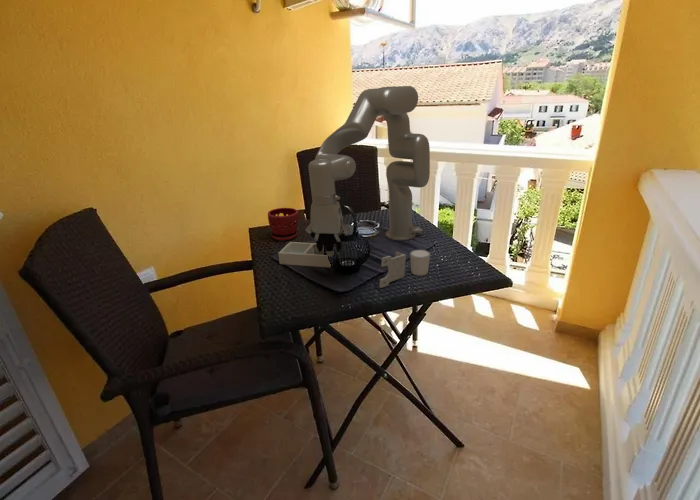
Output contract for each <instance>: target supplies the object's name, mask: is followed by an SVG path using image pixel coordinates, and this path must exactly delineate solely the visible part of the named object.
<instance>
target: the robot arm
mask: <svg viewBox="0 0 700 500" xmlns="http://www.w3.org/2000/svg"><path fill="white" fill-rule="evenodd" d="M418 102H419V94H418V91H417V89H416V88H415V87H414V86H411V85H401V86H400V85H399V86H397V85H396V86H382V87H381V86H380V87H379V88H368V89H367V88H366V89H364V90H363V91H362V92H361V93H360V94H359V95H358V97H357V99H356V102H355V103H354V105H353V107H352V110H351V111H350V113H349V115H348V117H347V119H346V121H345V122H344V123H343V124H342V125H341V126H340V127H338V128H337V129H336V130H335V131H333V132H332V133H331V134H330V135H328V137H326V139H325V140H324V141H323V142H322V144H321V145H320V147H319V149H318V151H317V153H316V155H315V158H314V159H313V160H311V161H309V163H308V174H309V183H310V185H309V186H310V190H311V199H312V200H311V201H312V203H311V204H310V223H309V225H308V226H307V227H306V228H305V232H306V233H307V234H309V236H310V237H312V239H314V241H315V242H316V245H317V248H318V252H321V250H322V249H323V245H322V243H321V242H320V234H334V236H335V238H336V242H335V244H336V252H337V253H340V251H341V250H342V248H343V245H342V244H343V243H342V242H343V241H342V240H343V239H344V238H345V236H347V235H348V234H349V233H350V232H351V229H350V228H349V227H348V226H347V225H346V224H345V223H344V217H343V213H342V209H341V205H340V202H339V201H340V200H341V196H340V195H337V193H336V184H335V182H336V181H341V180H347V179H350V178H351V177H352V176H353V175H354V174H355V172H356V169H357V167H356V166H357V164H356V161H355V160H354V158H353V157H351V156H349V155H345V154H339V153H340V152H341V151H342V150H343V149H345V148H347V147H349V146H352V145H354V144H357V143H359V142H361V141H363V140H365V139H367V137H368V136H369V133H370V132H371V130H372V128H373V125H374V124H375V122H376V120H377V118H378V117H380V116H383V117H384V118H385V121H386V126H387V142H388V143H387V145H388V153H389V155H390V156H391V157H393V158H395V159H404V160H405V161H404V160H395V161H392V162H390V163H389V164H388V165H387V167H386V171H385V172H386V173H385V174H386V175H385V176H386V181H387V186H388V187H387V188H388V210H389V211H388V213H389V215H388V216H389V217H388V219H389V221H388V223H389V225H388V230H387V231H386V232H385V237H386V238H387V239H390V240H393V241H408V240H411V239H413V238H415V237H416V234H423V228H421V227H420V226H414V223H413V220H412V219H413V193H412V190H411V188H417V189H418V188H419V189H420V188H423V187H426V186H427V185H428V183H429V180H430V170H431V163H430V160H431V157H430V155H431V152H430V151H431V149H430V143H429V138H428V137H426V135H424V134H423V133H413V132H412V133H411V125H410V123H411V122H410V118H409V114H408V113H411V112H412V111H414V110H415V109H416V107H417V106H418ZM406 160H411V161H406ZM410 187H411V188H410ZM341 230H343V232H342V233H341Z"/></svg>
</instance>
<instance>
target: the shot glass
mask: <svg viewBox="0 0 700 500" xmlns="http://www.w3.org/2000/svg"><path fill="white" fill-rule="evenodd" d="M409 258H410V270H411V271H410V272H411V274H413V275H415V276H425V275H428V273H429V266H430V259H431V253H430V251H428V250H425V249H414V250H412V251H410V252H409Z"/></svg>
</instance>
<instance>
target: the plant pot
mask: <svg viewBox="0 0 700 500" xmlns="http://www.w3.org/2000/svg"><path fill="white" fill-rule="evenodd" d="M281 214H282V215H281ZM299 218H300V217H299V211H298V209H295V208H293V207H279V208H273V209H271V210H269V211H268V212H267V220H268V224H269V228H270V231H271V234H270V235H271V237H272V239H274V240H277V241H288V240H293V239H295V238H296V237H297V236H298V232H299V231H298V226H299Z"/></svg>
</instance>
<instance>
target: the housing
mask: <svg viewBox="0 0 700 500" xmlns="http://www.w3.org/2000/svg"><path fill="white" fill-rule="evenodd" d="M277 254H278V260H279V261H278V262H279V264H280V265H288V266H289V265H290V266H303V267H305V266H306V267H318V268H319V267H320V268H331V267H332V266H331V264H330V262H329V260H328V256H327V255H324V246H323V249H322V250H321V252H318V248H317V245H316V243H315V242H297V241H289V242H288V243H287V244H286V245H285V246H284V247H283V248H282V249H281V250H280V251H279V252H278V253H277Z"/></svg>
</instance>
